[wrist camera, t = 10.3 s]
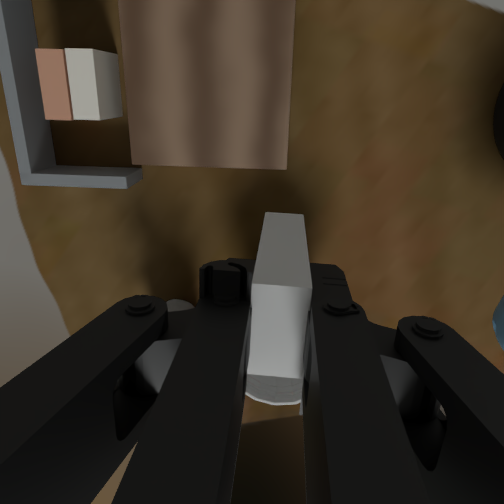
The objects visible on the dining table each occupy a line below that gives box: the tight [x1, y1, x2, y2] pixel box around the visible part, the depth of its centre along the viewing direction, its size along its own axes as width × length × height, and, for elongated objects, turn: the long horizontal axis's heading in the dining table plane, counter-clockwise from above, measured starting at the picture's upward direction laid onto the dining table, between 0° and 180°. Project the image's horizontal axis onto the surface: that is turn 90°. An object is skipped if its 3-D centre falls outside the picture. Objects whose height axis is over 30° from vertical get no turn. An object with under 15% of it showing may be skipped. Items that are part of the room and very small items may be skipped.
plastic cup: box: [245, 368, 304, 405], centre depth 45 cm, size 11×11×12 cm
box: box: [0, 0, 143, 189], centre depth 40 cm, size 11×19×5 cm, turn 179°
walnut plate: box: [118, 0, 296, 170], centre depth 41 cm, size 16×15×3 cm
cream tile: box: [65, 48, 123, 120], centre depth 40 cm, size 6×6×2 cm
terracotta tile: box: [35, 49, 75, 120], centre depth 40 cm, size 6×6×2 cm
